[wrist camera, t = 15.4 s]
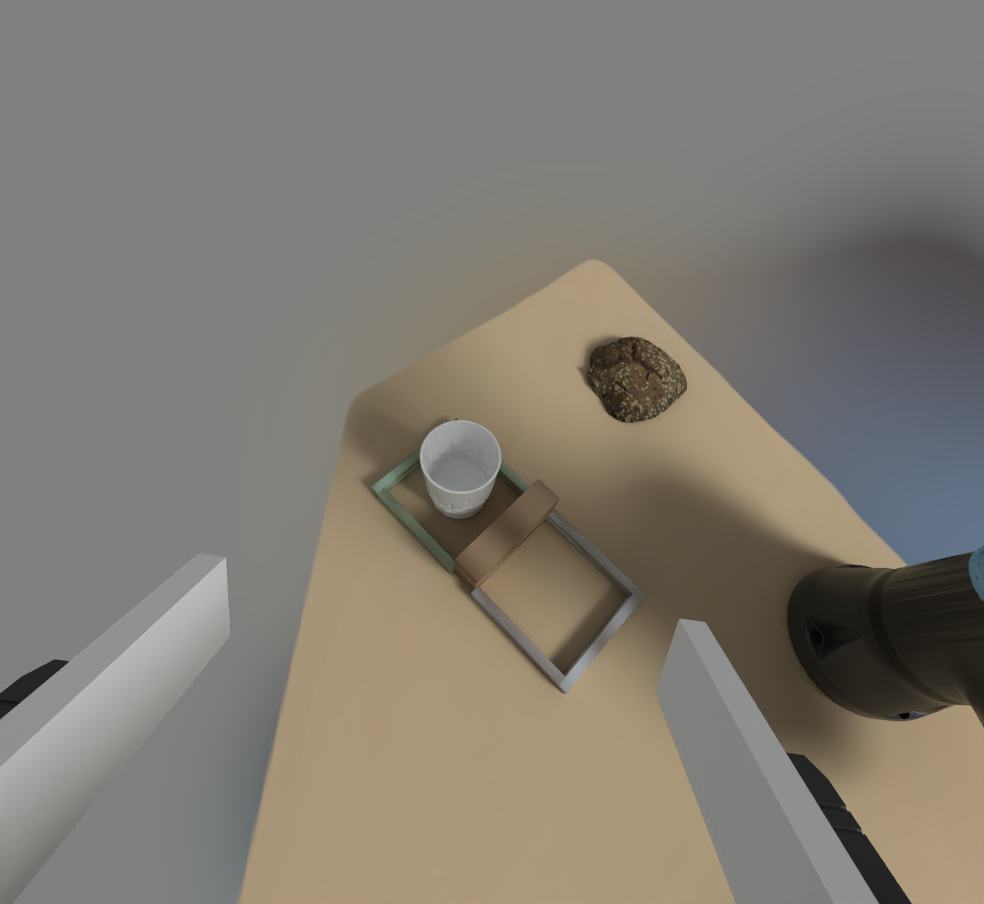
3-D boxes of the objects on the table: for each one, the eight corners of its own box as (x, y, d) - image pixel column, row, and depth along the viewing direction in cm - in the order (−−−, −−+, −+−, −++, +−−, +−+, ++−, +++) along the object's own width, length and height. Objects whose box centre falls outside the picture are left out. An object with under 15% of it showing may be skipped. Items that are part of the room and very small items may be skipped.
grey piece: (456, 424, 57) (456, 398, 52) (640, 596, 49) (663, 587, 44) (373, 492, 52) (364, 471, 47) (562, 692, 45) (578, 695, 39)
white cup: (427, 460, 55) (422, 418, 46) (493, 462, 55) (501, 421, 46) (423, 524, 51) (416, 492, 42) (493, 525, 52) (501, 494, 43)
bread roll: (694, 397, 62) (713, 375, 58) (624, 436, 59) (638, 416, 54) (635, 331, 66) (649, 307, 62) (567, 364, 63) (576, 340, 58)
